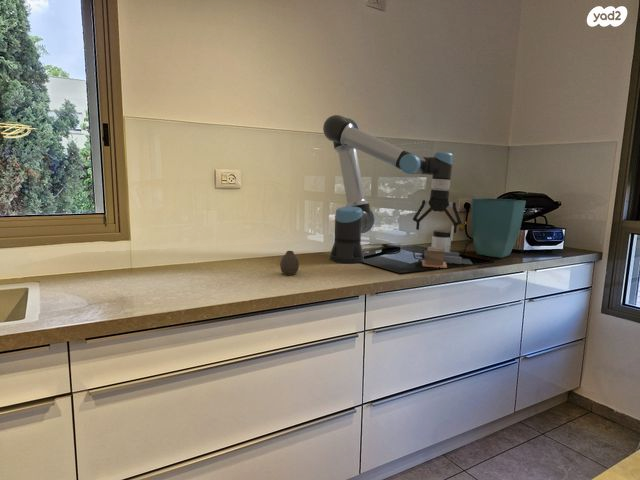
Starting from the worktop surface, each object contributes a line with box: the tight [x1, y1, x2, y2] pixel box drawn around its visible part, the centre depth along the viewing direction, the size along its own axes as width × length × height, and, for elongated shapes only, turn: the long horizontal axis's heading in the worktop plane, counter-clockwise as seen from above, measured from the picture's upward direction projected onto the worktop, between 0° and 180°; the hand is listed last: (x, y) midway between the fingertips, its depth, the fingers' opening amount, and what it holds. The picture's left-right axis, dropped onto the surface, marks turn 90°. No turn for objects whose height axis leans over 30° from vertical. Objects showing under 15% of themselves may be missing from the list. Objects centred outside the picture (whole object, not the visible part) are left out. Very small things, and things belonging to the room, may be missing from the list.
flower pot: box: [471, 197, 527, 259], centre depth 209 cm, size 20×20×28 cm
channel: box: [423, 250, 463, 265], centre depth 193 cm, size 16×12×3 cm
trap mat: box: [461, 258, 474, 266], centre depth 191 cm, size 5×12×1 cm, turn 167°
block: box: [426, 246, 444, 265], centre depth 182 cm, size 9×7×6 cm
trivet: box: [421, 259, 448, 269], centre depth 182 cm, size 10×10×1 cm
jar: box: [430, 229, 452, 252], centre depth 205 cm, size 9×8×12 cm
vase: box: [279, 250, 300, 277], centre depth 154 cm, size 7×7×9 cm
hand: (434, 238), depth 180 cm, fingers open, 13 cm apart
